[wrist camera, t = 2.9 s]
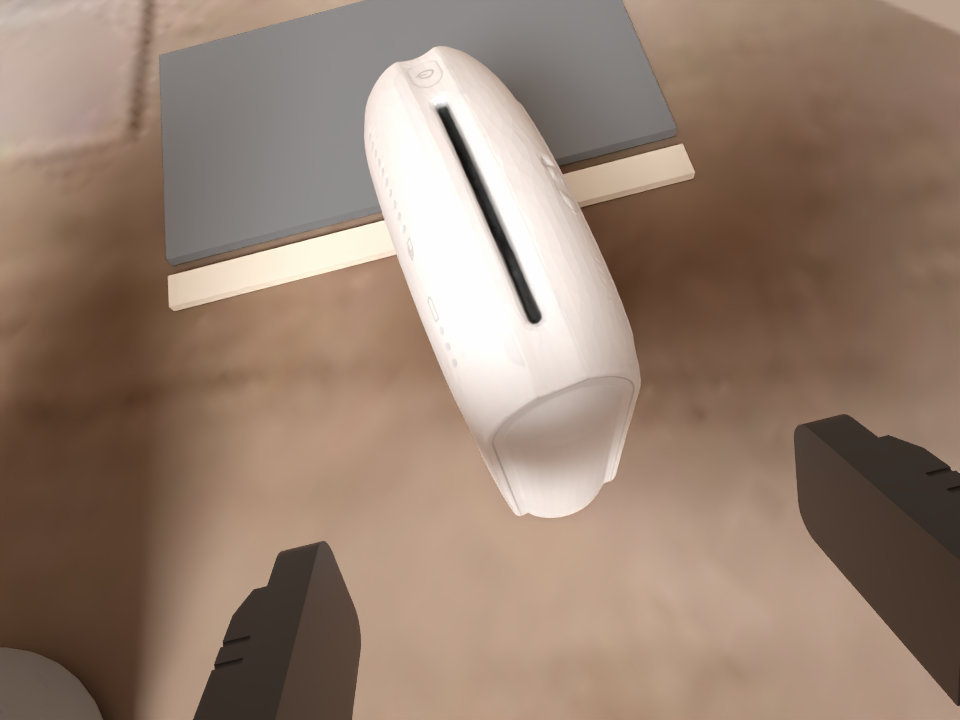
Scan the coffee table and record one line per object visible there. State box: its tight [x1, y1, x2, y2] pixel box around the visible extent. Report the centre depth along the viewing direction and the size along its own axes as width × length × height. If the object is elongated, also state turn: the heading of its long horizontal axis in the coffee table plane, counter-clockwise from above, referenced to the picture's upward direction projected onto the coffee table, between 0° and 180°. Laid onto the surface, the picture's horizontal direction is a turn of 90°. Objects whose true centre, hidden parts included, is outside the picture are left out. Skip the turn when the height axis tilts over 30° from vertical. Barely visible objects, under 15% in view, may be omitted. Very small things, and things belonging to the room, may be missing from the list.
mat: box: [159, 0, 695, 311], centre depth 30 cm, size 22×14×1 cm, turn 103°
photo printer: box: [364, 46, 641, 518], centre depth 19 cm, size 10×4×12 cm, turn 20°
